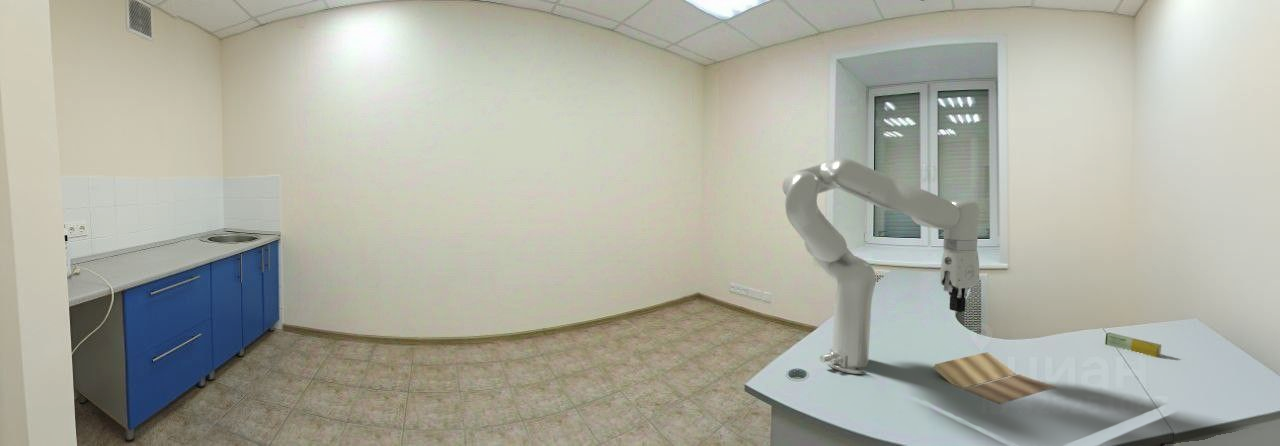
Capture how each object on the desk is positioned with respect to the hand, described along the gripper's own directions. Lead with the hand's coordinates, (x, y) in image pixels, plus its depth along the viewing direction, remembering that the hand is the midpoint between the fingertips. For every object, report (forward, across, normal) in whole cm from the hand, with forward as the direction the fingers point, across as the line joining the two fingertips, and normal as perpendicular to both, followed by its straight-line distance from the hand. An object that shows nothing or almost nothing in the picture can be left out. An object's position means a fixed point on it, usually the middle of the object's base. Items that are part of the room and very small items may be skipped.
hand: (957, 310), depth 124 cm
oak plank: (+16, -1, -6) cm, 17 cm away
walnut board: (+18, -1, -14) cm, 23 cm away
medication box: (+20, +69, -12) cm, 73 cm away
